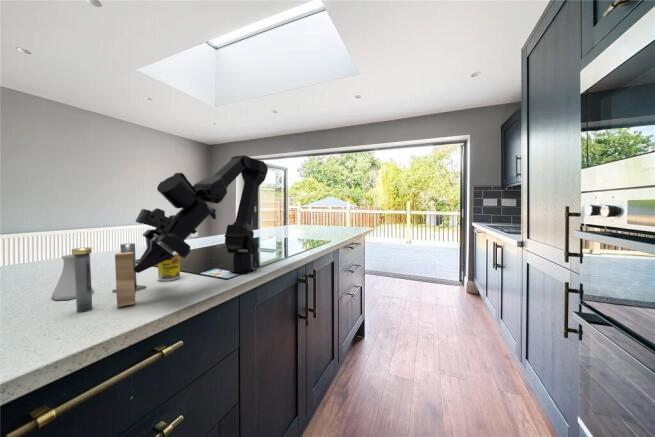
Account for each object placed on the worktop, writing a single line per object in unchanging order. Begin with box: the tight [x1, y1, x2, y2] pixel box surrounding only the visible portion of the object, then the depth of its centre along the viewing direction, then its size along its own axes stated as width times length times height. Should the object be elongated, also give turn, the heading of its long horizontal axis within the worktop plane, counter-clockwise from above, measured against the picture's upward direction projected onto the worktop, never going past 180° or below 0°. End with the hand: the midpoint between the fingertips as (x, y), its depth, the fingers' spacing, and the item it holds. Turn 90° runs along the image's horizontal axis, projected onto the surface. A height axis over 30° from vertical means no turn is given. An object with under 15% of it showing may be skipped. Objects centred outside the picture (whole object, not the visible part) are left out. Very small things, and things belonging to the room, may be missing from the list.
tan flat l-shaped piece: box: [114, 252, 136, 308], centre depth 60 cm, size 12×3×11 cm, turn 35°
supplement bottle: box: [157, 252, 181, 282], centre depth 77 cm, size 6×6×10 cm
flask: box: [50, 254, 95, 301], centre depth 63 cm, size 7×7×10 cm
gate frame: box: [71, 242, 147, 313], centre depth 61 cm, size 16×8×13 cm, turn 163°
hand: (135, 271), depth 57 cm, fingers closed
